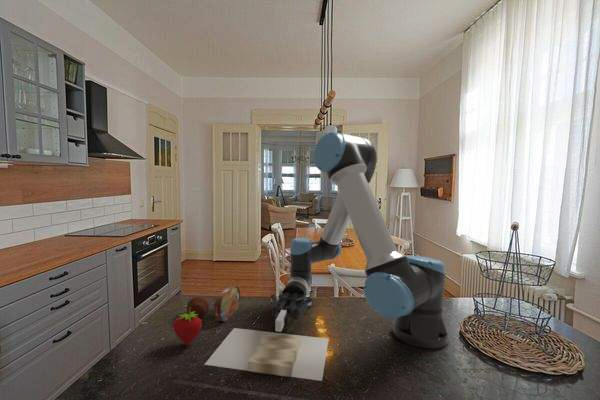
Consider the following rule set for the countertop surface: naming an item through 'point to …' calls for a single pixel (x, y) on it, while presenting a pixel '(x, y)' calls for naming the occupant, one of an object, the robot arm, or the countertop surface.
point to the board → (275, 355)
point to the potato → (198, 306)
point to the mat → (245, 341)
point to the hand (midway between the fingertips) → (278, 326)
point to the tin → (227, 303)
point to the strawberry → (187, 327)
